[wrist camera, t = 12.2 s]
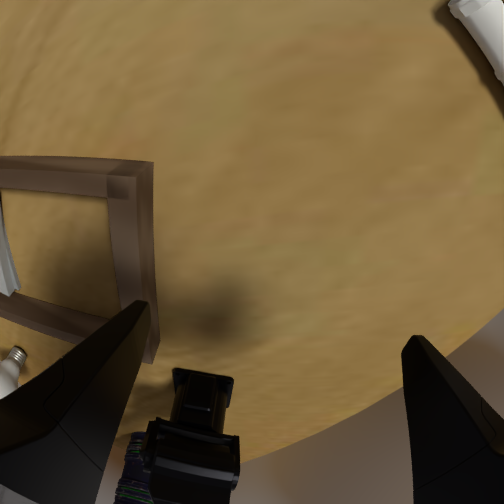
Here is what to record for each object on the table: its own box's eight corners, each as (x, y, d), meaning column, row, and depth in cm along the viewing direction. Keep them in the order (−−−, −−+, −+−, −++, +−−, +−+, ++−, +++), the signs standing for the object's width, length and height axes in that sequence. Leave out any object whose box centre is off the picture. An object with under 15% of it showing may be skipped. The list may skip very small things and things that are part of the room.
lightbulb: (28, 366, 36) (1, 420, 27) (0, 338, 33) (-32, 392, 24) (44, 361, 34) (13, 422, 25) (13, 331, 32) (-23, 390, 22)
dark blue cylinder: (122, 435, 46) (103, 503, 33) (146, 427, 42) (126, 507, 29) (165, 455, 49) (152, 520, 37) (195, 449, 45) (183, 523, 33)
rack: (160, 340, 28) (152, 364, 26) (7, 298, 28) (-5, 314, 25) (153, 162, 19) (135, 177, 16) (-31, 157, 18) (-51, 169, 16)
